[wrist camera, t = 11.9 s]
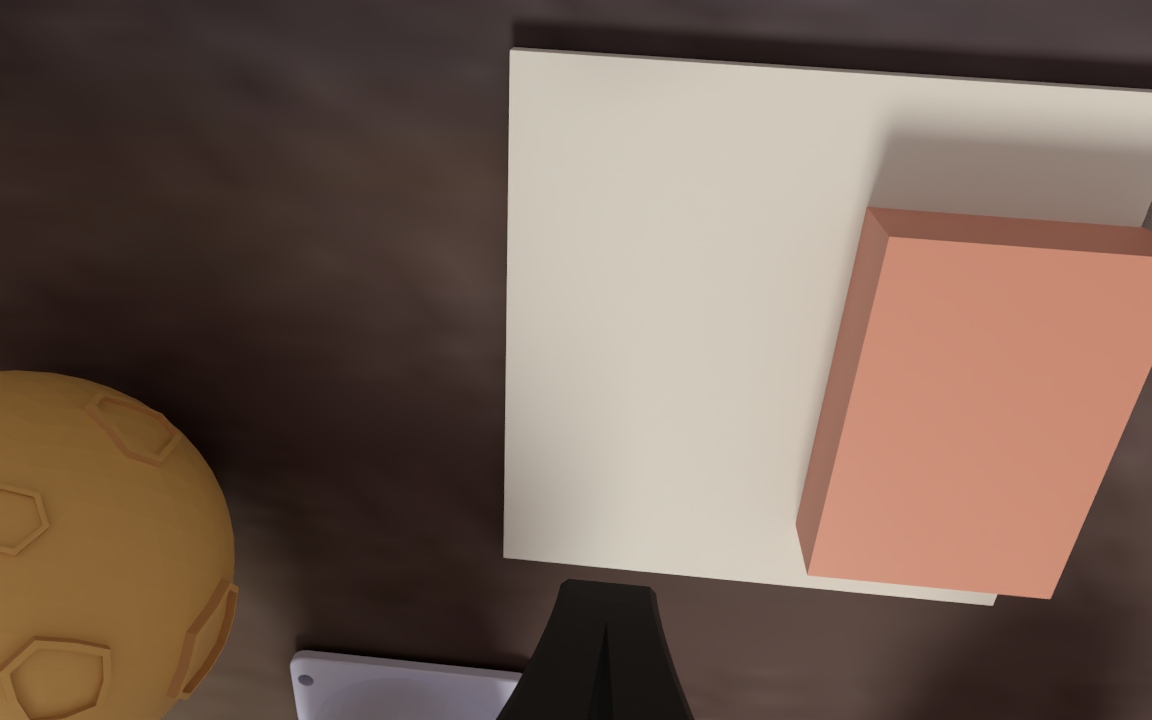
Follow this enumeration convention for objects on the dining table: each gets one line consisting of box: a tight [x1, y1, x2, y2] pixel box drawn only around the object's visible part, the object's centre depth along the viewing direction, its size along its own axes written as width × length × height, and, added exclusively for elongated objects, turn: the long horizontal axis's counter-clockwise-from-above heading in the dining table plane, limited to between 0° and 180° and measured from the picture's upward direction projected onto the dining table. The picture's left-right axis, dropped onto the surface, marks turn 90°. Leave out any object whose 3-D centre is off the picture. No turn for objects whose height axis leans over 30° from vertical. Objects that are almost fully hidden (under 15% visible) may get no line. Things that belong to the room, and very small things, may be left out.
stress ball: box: [0, 370, 239, 720], centre depth 19 cm, size 10×10×10 cm
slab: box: [795, 207, 1152, 599], centre depth 19 cm, size 9×2×6 cm
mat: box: [503, 47, 1152, 606], centre depth 21 cm, size 14×14×1 cm
